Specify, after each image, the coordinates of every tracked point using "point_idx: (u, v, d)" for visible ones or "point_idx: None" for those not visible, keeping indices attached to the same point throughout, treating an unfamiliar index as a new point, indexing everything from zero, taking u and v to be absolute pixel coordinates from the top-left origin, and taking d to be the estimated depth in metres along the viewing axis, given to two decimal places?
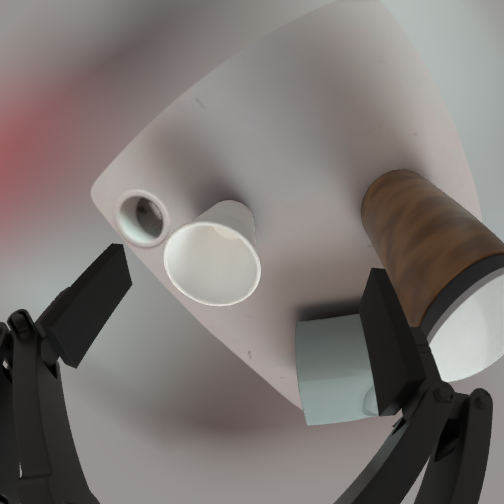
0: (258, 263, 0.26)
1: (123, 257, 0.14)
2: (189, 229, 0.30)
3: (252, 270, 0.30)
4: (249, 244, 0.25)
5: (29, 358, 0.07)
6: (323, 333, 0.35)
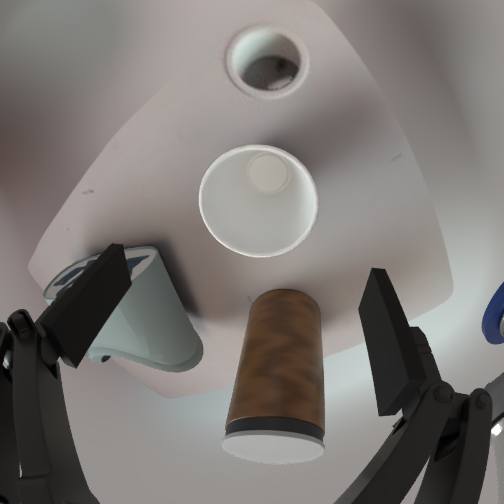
0: (267, 256, 0.24)
1: (122, 257, 0.14)
2: None
3: (241, 230, 0.27)
4: (290, 249, 0.24)
5: (29, 358, 0.07)
6: (163, 289, 0.34)
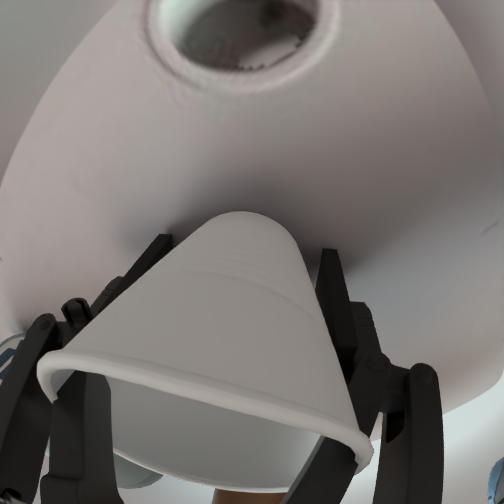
0: (232, 490, 0.08)
1: (171, 248, 0.15)
2: None
3: (180, 420, 0.11)
4: (279, 492, 0.08)
5: None
6: None
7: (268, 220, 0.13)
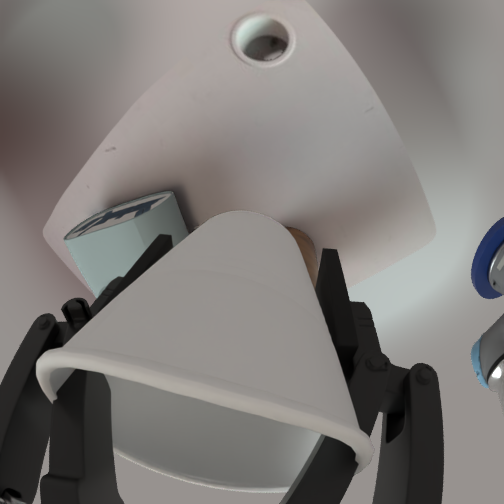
0: (232, 490, 0.08)
1: (171, 248, 0.15)
2: None
3: (180, 419, 0.11)
4: (279, 491, 0.08)
5: None
6: (177, 221, 0.39)
7: (268, 219, 0.13)
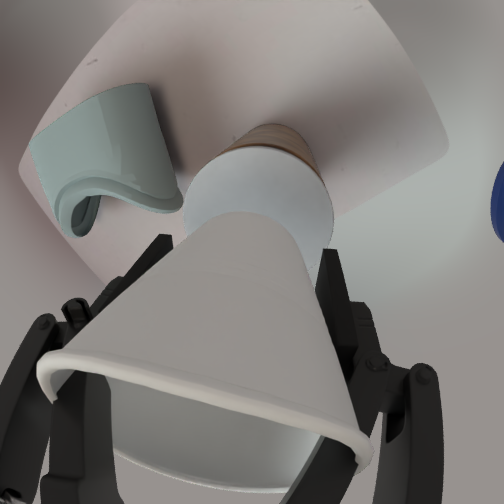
0: (232, 490, 0.08)
1: (171, 248, 0.15)
2: None
3: (180, 420, 0.11)
4: (279, 492, 0.08)
5: None
6: (147, 107, 0.30)
7: (268, 220, 0.13)
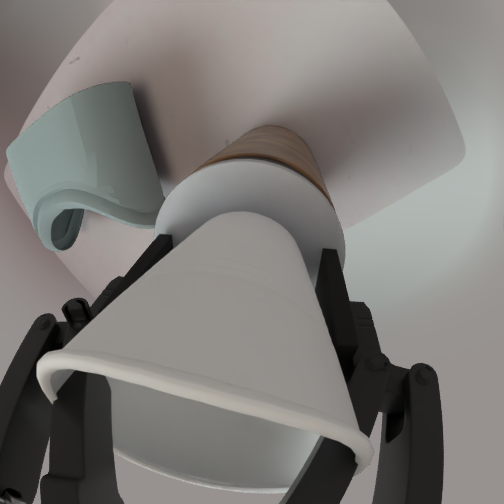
0: (232, 490, 0.08)
1: (171, 248, 0.15)
2: None
3: (180, 420, 0.11)
4: (279, 492, 0.08)
5: None
6: (127, 109, 0.26)
7: (268, 220, 0.13)
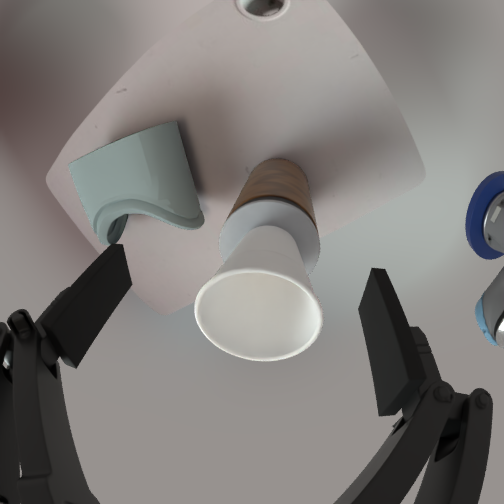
0: (266, 360, 0.23)
1: (123, 257, 0.14)
2: None
3: (239, 327, 0.25)
4: (289, 356, 0.22)
5: (29, 358, 0.07)
6: (177, 143, 0.40)
7: (282, 230, 0.27)
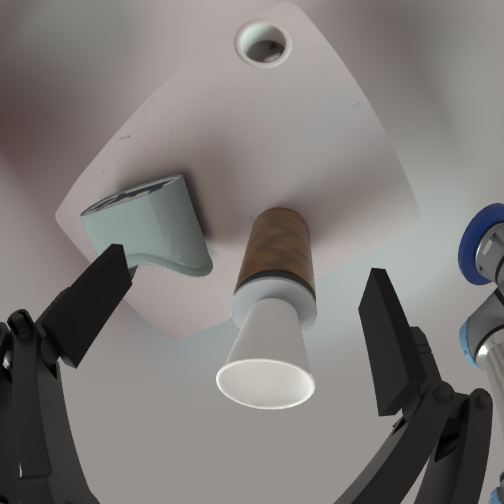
0: None
1: (122, 257, 0.14)
2: (286, 331, 0.27)
3: (250, 382, 0.29)
4: (289, 406, 0.27)
5: (29, 358, 0.07)
6: (185, 199, 0.44)
7: (284, 303, 0.32)
